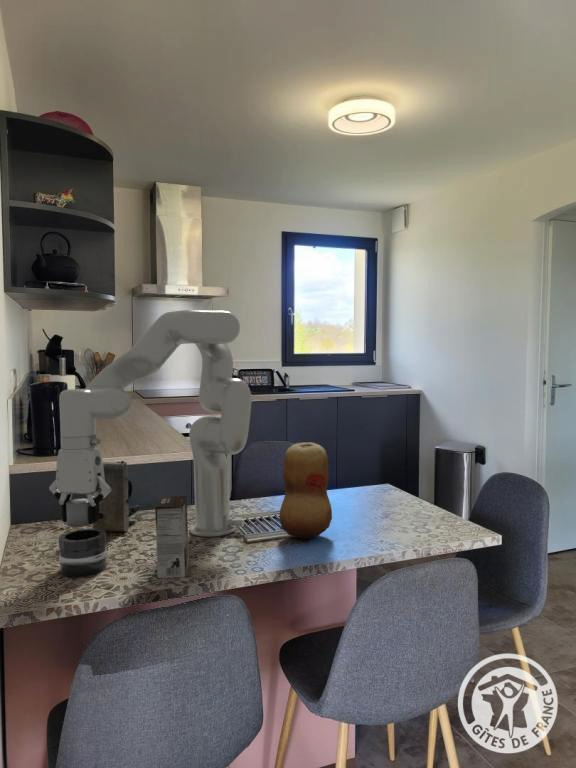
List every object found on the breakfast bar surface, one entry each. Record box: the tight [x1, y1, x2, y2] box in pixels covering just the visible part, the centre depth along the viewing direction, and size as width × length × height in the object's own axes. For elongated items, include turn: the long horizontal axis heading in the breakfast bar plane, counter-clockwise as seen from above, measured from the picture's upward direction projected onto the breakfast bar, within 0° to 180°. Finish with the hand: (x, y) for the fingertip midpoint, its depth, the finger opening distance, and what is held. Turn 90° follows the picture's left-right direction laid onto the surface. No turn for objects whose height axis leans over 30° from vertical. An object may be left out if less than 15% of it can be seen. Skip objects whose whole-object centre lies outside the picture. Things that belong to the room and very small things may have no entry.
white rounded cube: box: [66, 497, 92, 528], centre depth 133 cm, size 6×6×5 cm
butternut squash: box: [279, 441, 333, 540], centre depth 153 cm, size 14×13×25 cm
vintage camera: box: [92, 460, 143, 533], centre depth 168 cm, size 10×16×20 cm, turn 174°
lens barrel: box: [58, 527, 108, 578], centre depth 134 cm, size 10×10×8 cm
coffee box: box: [155, 495, 190, 579], centre depth 132 cm, size 9×6×16 cm
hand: (80, 520), depth 133 cm, fingers closed on white rounded cube, 5 cm apart
